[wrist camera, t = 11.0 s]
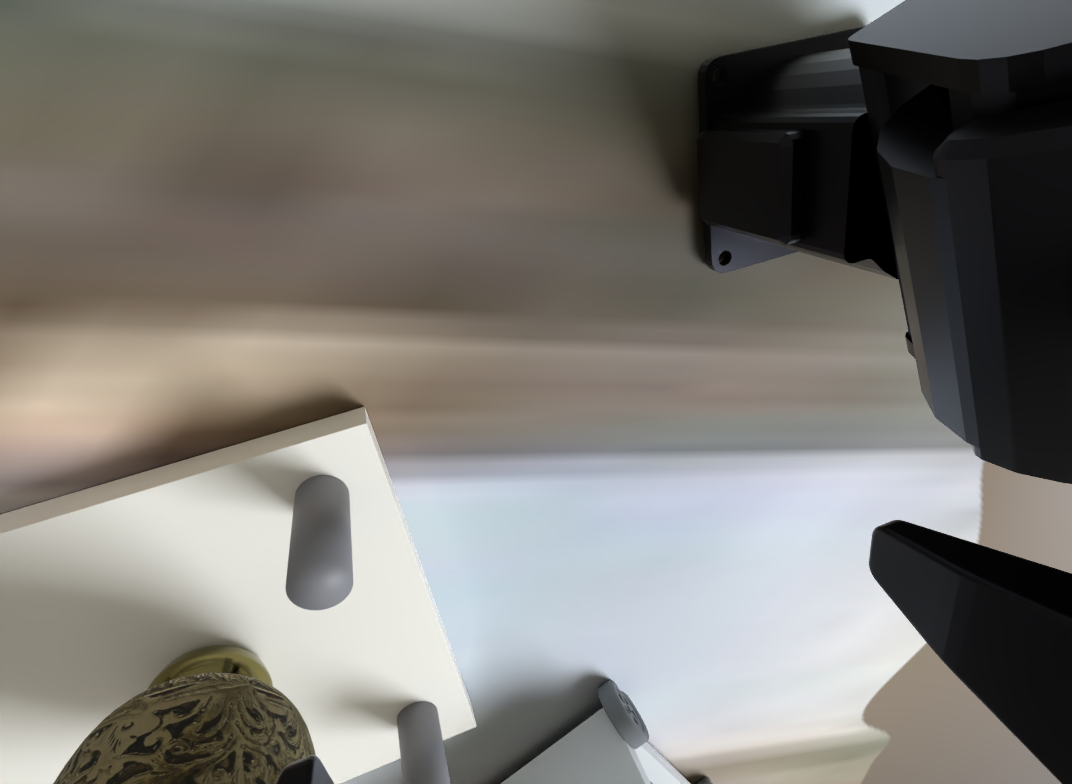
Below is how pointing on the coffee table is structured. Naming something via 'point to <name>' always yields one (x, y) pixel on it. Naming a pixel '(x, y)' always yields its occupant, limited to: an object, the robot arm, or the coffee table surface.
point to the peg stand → (231, 601)
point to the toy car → (603, 750)
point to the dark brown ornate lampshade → (196, 727)
